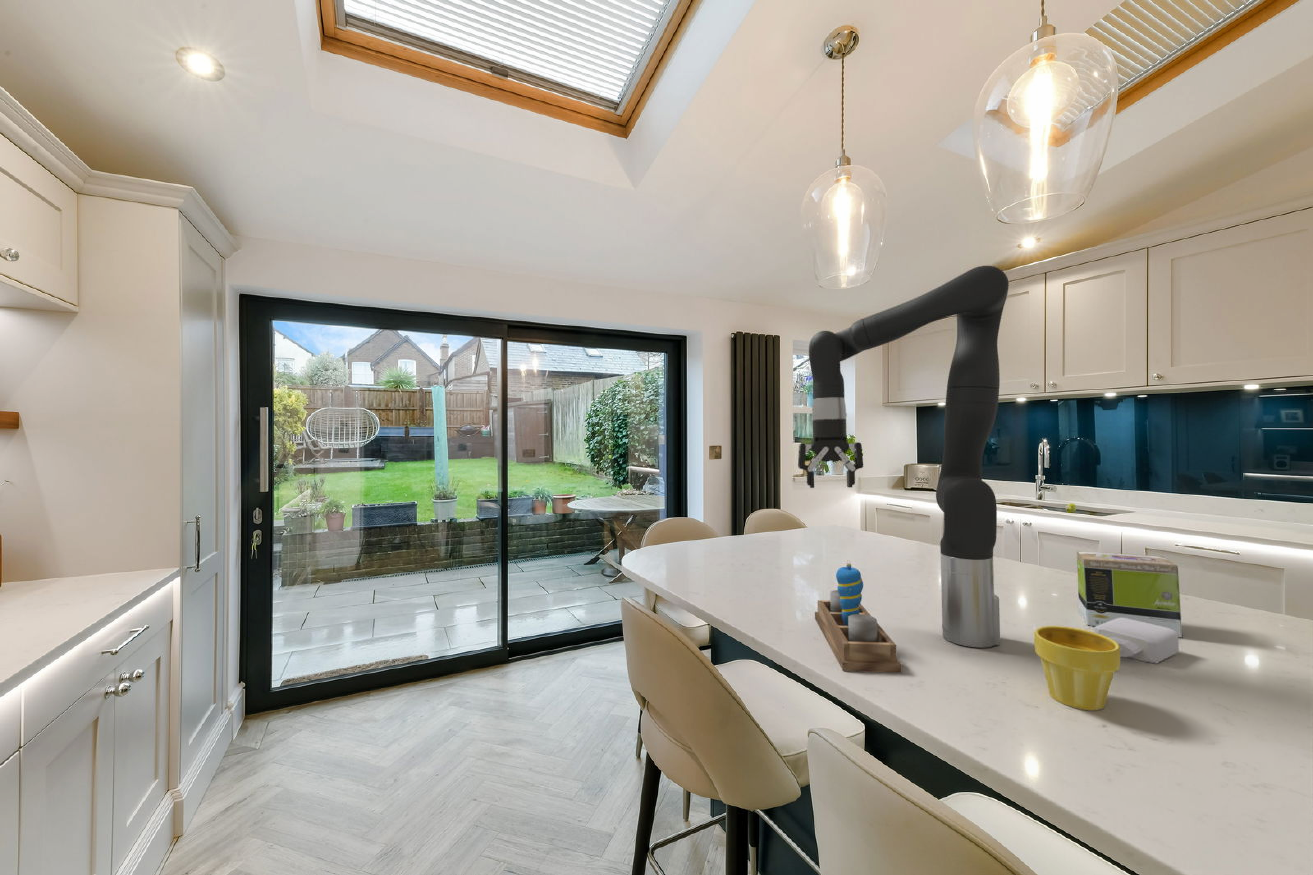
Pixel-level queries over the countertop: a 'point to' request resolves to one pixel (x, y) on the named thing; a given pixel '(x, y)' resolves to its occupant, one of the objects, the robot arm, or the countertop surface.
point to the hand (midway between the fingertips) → (830, 487)
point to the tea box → (1128, 589)
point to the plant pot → (1077, 665)
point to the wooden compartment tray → (856, 639)
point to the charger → (1141, 639)
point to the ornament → (849, 590)
